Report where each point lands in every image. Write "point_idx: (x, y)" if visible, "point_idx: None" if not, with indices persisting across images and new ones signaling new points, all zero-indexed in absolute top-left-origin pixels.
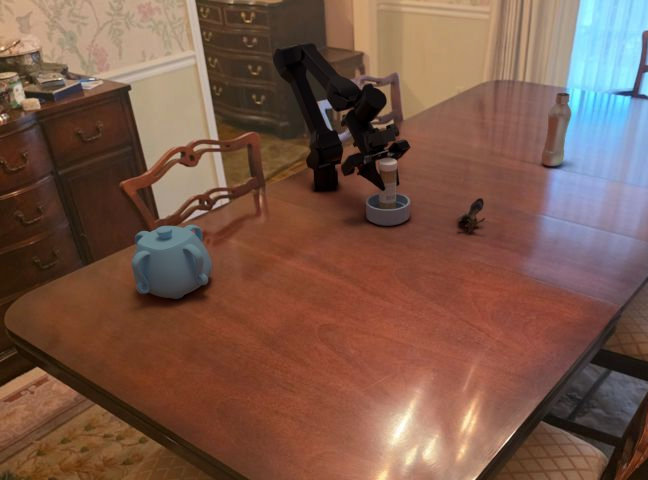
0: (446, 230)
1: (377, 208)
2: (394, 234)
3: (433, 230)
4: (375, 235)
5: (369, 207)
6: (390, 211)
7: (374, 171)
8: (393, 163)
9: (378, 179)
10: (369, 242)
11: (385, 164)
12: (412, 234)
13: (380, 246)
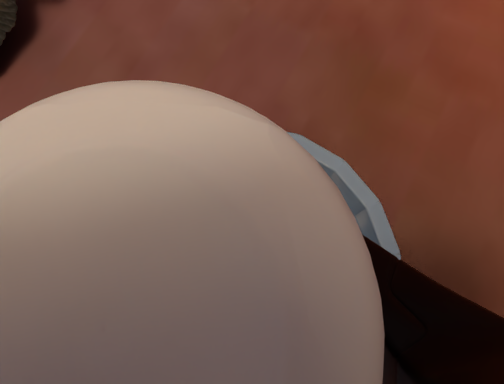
0: (92, 29)
1: (361, 197)
2: (309, 90)
3: (137, 52)
4: (397, 120)
5: (398, 253)
6: (296, 136)
7: (458, 319)
8: (78, 94)
9: (372, 242)
10: (452, 70)
11: (286, 144)
12: (237, 57)
13: (419, 17)
